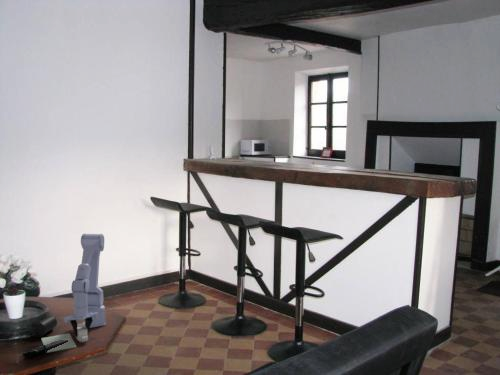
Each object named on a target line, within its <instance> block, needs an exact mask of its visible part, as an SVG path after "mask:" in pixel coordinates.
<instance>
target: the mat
mask: <svg viewBox="0 0 500 375" xmlns="http://www.w3.org/2000/svg"><path fill="white" fill-rule="evenodd" d="M59 340H68V342H66V343H64V344H62V345H59V346H57V347H55V348H52V349H50V350H48V351H47V352H46V353H52V352H58V351H64V350H69V349H75V348H77V345H76V343H75V341H74V339H73V337H72V336H71V334H70V333H65V334H64V333H63V334H62V333H61V334H57V335H52V336H48V337H47V336H46V337H41V342H42V344H43V346H44V345H47V344H50V343H52V342H55V341H59Z"/></svg>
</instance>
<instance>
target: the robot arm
mask: <svg viewBox="0 0 500 375" xmlns="http://www.w3.org/2000/svg"><path fill="white" fill-rule="evenodd" d="M80 236H81V237H80V245H81V248H82V257H81V264H79V265H78V267H77V270H76V274H75V275H76V276H75V279H74V280H73V281H72V282H71V292H72V297H73V311H74V312H73V314H72V315H69V316H63V322H64V323H65V324H66V323H68V322H70V324H71V326H72V329H73V333H74V337H75V338H76V337H77V324H78V322H77V321H82V320H84V321H83V322H81V324H84V325H85V326H86V328H87V332H88V333H89V332H90V331H89V330H90V328H91V329H92V328H97V327H102V326H103V327H104V326H106V324H107V323H106V307H105V305H104V290H103V289H102V288H101V287H100V286H99V270H100V256H101V252H103V251H104V249H105V236H104V234H103V233H82V235H80Z"/></svg>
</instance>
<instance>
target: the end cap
mask: <svg viewBox="0 0 500 375" xmlns="http://www.w3.org/2000/svg"><path fill="white" fill-rule="evenodd" d="M57 324H58V320H57V318H56V317H55V316H53V315H49V316H41V317H39V318H38V320H34V321H32V322H31V328H36V329H31V334H32V337H37V338H40V337H41V338H42V337H43V336H44V335H46V334H48V333H49V332H50V331H52V330H53V329H54V328H56V326H57ZM34 333H35V334H34Z"/></svg>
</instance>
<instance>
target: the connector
mask: <svg viewBox="0 0 500 375" xmlns="http://www.w3.org/2000/svg"><path fill="white" fill-rule="evenodd" d="M88 335H89V331H88V332H87V328H86V326H85V325H84V324H83V323H77V337H76V336H75V339H76V340H77V342H78V341H79V342H78V343H86V342H87V341H88V340H89V336H88ZM85 341H86V342H85Z"/></svg>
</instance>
